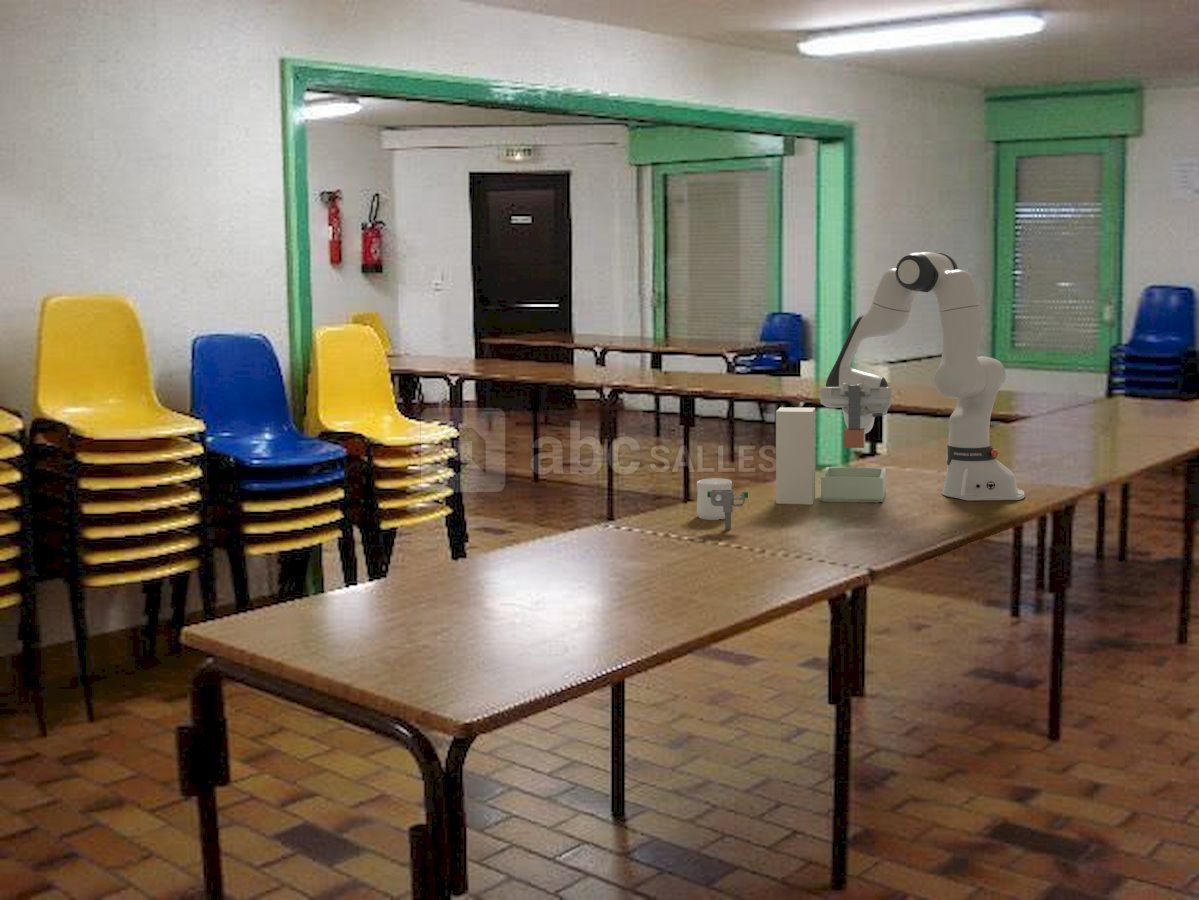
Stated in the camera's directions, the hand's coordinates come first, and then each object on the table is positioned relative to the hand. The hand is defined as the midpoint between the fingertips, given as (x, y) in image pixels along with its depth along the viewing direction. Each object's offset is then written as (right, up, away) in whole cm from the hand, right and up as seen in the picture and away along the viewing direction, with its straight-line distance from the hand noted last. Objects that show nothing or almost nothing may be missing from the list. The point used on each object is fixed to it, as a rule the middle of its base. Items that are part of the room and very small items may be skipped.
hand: (854, 385), depth 372 cm
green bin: (+1, -31, +5) cm, 32 cm away
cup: (-41, -36, -17) cm, 57 cm away
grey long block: (+1, -8, +5) cm, 9 cm away
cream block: (-16, -33, +1) cm, 36 cm away
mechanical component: (-39, -39, -33) cm, 64 cm away
